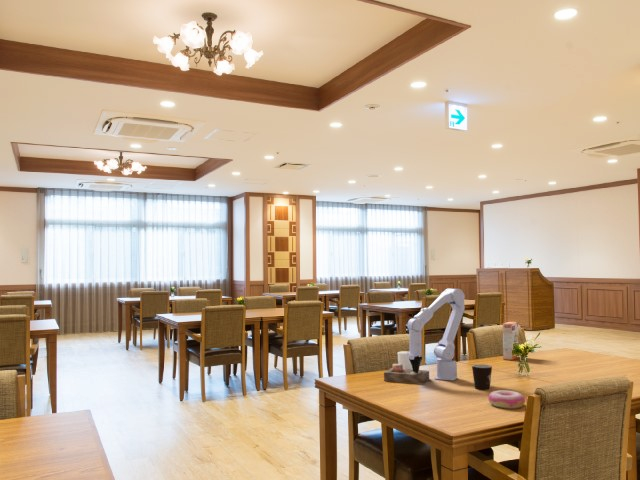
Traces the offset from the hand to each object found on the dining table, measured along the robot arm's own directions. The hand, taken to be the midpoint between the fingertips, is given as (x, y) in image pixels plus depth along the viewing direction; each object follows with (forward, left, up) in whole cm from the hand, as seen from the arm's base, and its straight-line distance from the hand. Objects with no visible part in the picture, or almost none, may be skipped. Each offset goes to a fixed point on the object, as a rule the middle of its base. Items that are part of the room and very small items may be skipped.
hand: (415, 372), depth 264 cm
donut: (-45, +31, -4) cm, 55 cm away
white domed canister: (0, 0, -3) cm, 3 cm away
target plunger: (+9, 0, 0) cm, 9 cm away
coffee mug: (-33, +4, -4) cm, 33 cm away
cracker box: (-36, -81, -4) cm, 89 cm away
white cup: (+10, -19, -4) cm, 22 cm away
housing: (+4, 0, -4) cm, 6 cm away
